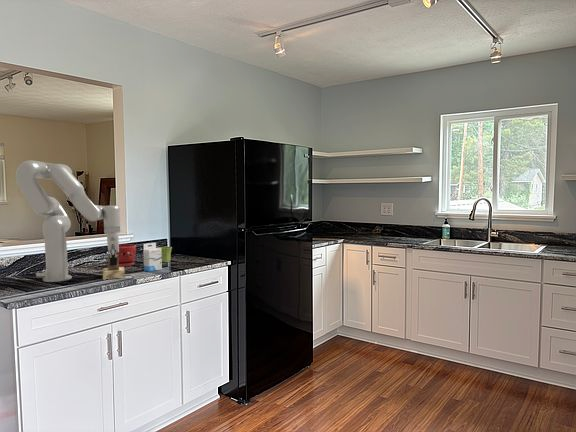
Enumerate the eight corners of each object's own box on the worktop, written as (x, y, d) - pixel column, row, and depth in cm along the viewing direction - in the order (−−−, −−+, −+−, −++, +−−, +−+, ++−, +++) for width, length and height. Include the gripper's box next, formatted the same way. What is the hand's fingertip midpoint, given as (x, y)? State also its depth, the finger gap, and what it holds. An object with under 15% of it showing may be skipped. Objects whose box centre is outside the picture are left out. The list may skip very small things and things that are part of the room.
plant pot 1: (131, 267, 247) (130, 246, 246) (108, 267, 247) (107, 246, 246) (139, 263, 260) (139, 243, 259) (117, 263, 260) (117, 243, 259)
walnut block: (108, 270, 218) (107, 256, 218) (108, 268, 223) (107, 255, 222) (118, 269, 220) (118, 256, 220) (118, 268, 225) (118, 254, 224)
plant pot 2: (153, 262, 265) (152, 247, 264) (165, 259, 272) (165, 246, 272) (163, 263, 259) (163, 249, 259) (175, 261, 267) (175, 247, 267)
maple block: (103, 279, 215) (102, 271, 215) (103, 276, 225) (103, 268, 224) (124, 278, 219) (124, 270, 219) (124, 274, 228) (123, 266, 228)
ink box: (149, 272, 235) (148, 244, 234) (143, 271, 237) (142, 244, 236) (162, 269, 242) (161, 242, 240) (156, 268, 244) (155, 242, 243)
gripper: (120, 231, 214) (121, 266, 215) (119, 228, 229) (121, 260, 231) (103, 232, 211) (105, 267, 212) (104, 228, 227) (105, 261, 228)
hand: (113, 263), depth 221 cm, fingers open, 9 cm apart
